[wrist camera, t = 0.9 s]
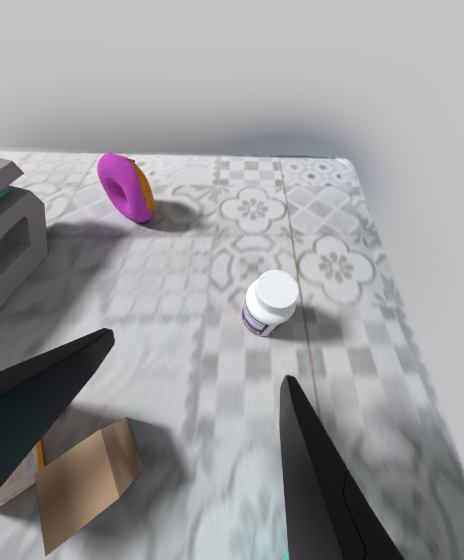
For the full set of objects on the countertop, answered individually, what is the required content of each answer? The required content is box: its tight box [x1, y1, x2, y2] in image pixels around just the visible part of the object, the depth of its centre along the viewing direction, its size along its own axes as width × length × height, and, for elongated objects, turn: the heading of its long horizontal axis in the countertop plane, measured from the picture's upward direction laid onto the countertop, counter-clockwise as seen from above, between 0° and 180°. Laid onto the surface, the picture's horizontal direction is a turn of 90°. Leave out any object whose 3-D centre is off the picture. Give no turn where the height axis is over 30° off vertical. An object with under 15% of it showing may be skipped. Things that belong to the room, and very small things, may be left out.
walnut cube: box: [34, 418, 144, 556], centre depth 16 cm, size 5×5×5 cm
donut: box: [97, 152, 154, 222], centre depth 30 cm, size 8×9×10 cm
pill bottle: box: [242, 270, 299, 336], centre depth 22 cm, size 5×5×10 cm
